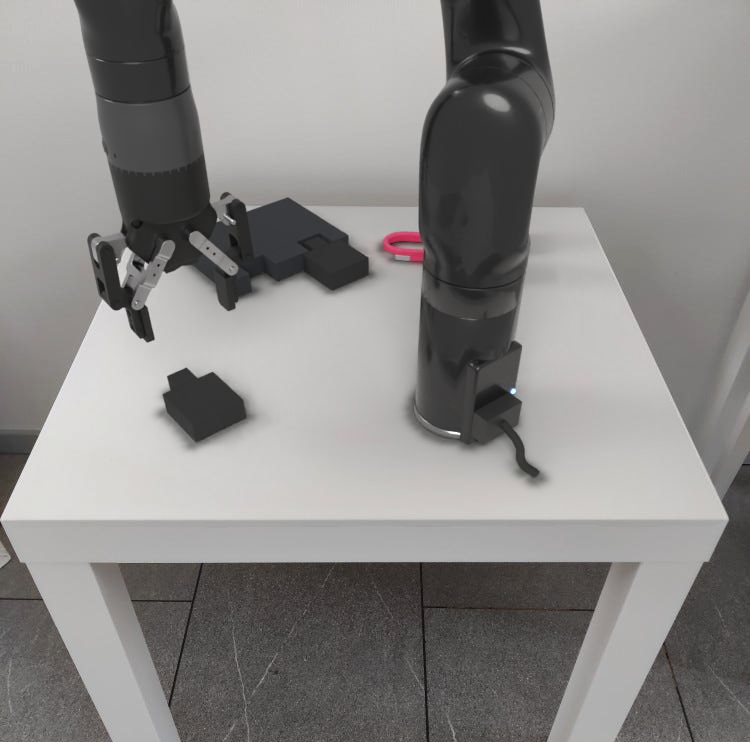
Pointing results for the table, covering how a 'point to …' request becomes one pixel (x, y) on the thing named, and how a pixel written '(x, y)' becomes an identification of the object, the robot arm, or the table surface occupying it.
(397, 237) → the fitness band
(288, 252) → the dark grey notched board
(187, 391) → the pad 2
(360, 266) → the black tabbed block
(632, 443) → the table surface
